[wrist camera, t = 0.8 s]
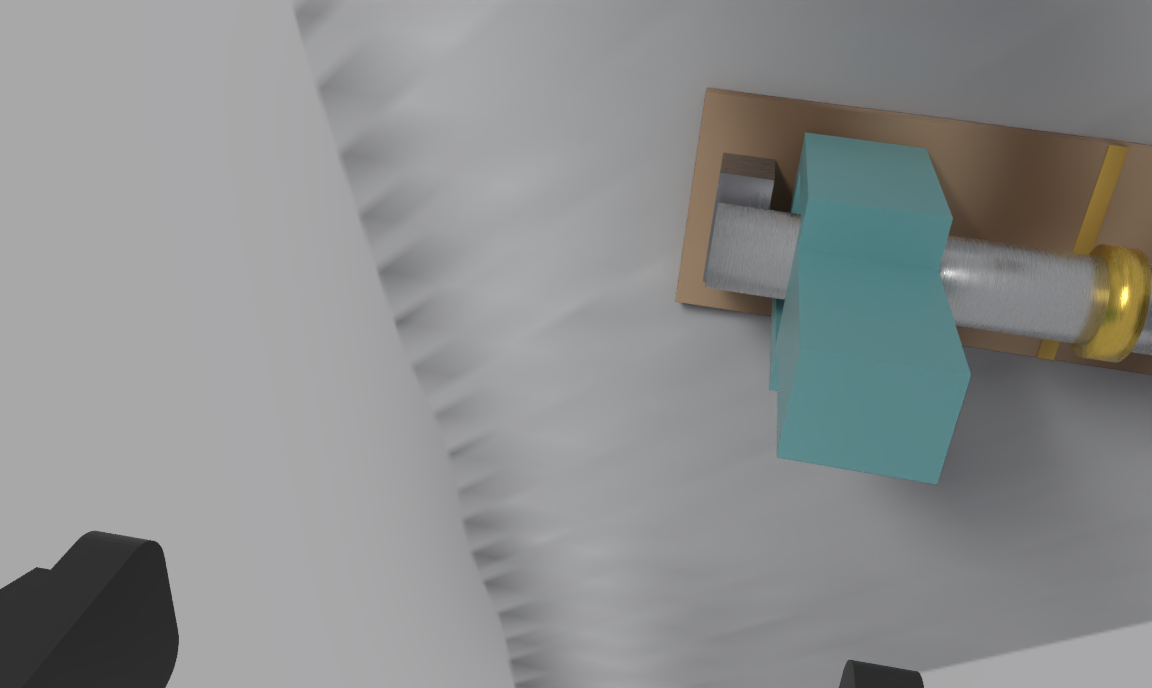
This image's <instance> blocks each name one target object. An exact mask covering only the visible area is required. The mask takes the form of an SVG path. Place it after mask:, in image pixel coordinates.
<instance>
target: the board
mask: <svg viewBox="0 0 1152 688" xmlns="http://www.w3.org/2000/svg"><path fill="white" fill-rule="evenodd" d="M805 132H807V133H814V134H822V135H829V136H837V137H844V138H852V139H859V140H867V141H874V142H882V143H889V144H897V145H904V146H912V147H919V148H926V149H927V152H928V154H929V157H930V159H931V162H932V165H933V167H934V170H935V173H936V175H937V178H938V180H939V183H940V186H941V188H942V191H943V194H944V196H945V199H946V201H947V204H948V207H949V209H950V212H951V214H952V217H953V220H952V224H951V227H950V231H949V234H948V235H950V236H957V237H965V238H972V239H979V240H986V241H993V242H1000V243H1007V244H1014V245H1021V246H1028V247H1035V248H1042V249H1049V250H1056V251H1063V252H1070V253H1077V254H1084V255H1089V254H1090V252H1091V251H1092V250H1093V249H1094V248H1095V247H1096V246H1098V245H1100V244H1106V245H1113V246H1120V247H1127V248H1134V249H1140V250H1141V251H1143V252H1144V254H1145V255H1146V257H1147V259H1148V262H1149V264H1152V145H1144V144H1136V143H1129V142H1121V141H1113V140H1106V139H1098V138H1090V137H1082V136H1075V135H1067V134H1059V133H1052V132H1044V131H1036V130H1028V129H1021V128H1013V127H1005V126H998V125H990V124H982V123H974V122H967V121H959V120H951V119H944V118H936V117H928V116H921V115H913V114H905V113H897V112H890V111H882V110H874V109H867V108H859V107H851V106H843V105H836V104H828V103H820V102H813V101H805V100H797V99H789V98H782V97H774V96H766V95H759V94H751V93H743V92H735V91H728V90H720V89H712V88H707V90H706V95H705V101H704V108H703V115H702V122H701V129H700V136H699V143H698V150H697V157H696V163H695V170H694V177H693V184H692V191H691V198H690V205H689V212H688V218H687V225H686V232H685V239H684V246H683V253H682V260H681V267H680V273H679V280H678V287H677V294H676V301H675V302H681V303H687V304H694V305H700V306H707V307H713V308H720V309H726V310H733V311H739V312H746V313H752V314H759V315H765V316H772V299H773V298H771V297H764V296H758V295H751V294H745V293H738V292H731V291H725V290H718V289H712V288H705V282H703V276H704V270H705V263H706V257H707V251H708V244H709V238H710V232H711V225H712V219H713V213H714V206H715V200H716V194H717V187H718V181H719V175H720V169H721V163H722V157H723V152H724V153H732V154H739V155H746V156H754V157H761V158H768V159H775V180H774V186H773V191H772V196H771V202H770V207H769V210H775V211H782V212H790V207H791V202H792V197H793V192H794V186H795V181H796V176H797V171H798V166H799V161H800V156H801V151H802V146H803V141H804V135H805ZM956 328H957V331H958V334H959V338H960V341H961V344H962V346H967V347H973V348H980V349H986V350H993V351H999V352H1006V353H1012V354H1019V355H1025V356H1032V357H1036V358H1042V359H1048V360H1058V361H1064V362H1071V363H1077V364H1084V365H1090V366H1097V367H1103V368H1110V369H1116V370H1123V371H1129V372H1136V373H1142V374H1149V375H1152V355H1147V354H1140V353H1133V352H1130V354H1129V355H1128V356H1127V357H1126V358H1125V359H1123V360H1122V361H1120V362H1116V363H1115V362H1108V361H1102V360H1095V359H1089V358H1082V357H1079V356H1077V355H1076V354H1075V353H1074V351H1073V349H1072V346H1071V343H1068V342H1061V341H1054V340H1048V339H1041V338H1035V337H1028V336H1021V335H1015V334H1008V333H1002V332H995V331H988V330H982V329H975V328H969V327H962V326H956Z"/></svg>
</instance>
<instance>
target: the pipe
mask: <svg viewBox="0 0 1152 688" xmlns="http://www.w3.org/2000/svg"><path fill="white" fill-rule="evenodd" d="M774 180H775V159H768V158H761V157H754V156H746V155H739V154H732V153H724V152H723V157H722V163H721V169H720V175H719V181H718V187H717V194H716V200H715V206H714V213H713V219H712V225H711V232H710V238H709V244H708V251H707V257H706V263H705V270H704V276H703V282H705V288H712V289H718V290H725V291H731V292H738V293H745V294H751V295H758V296H764V297H771V298H778V299H784V300H785V297H786V292H787V287H788V282H789V277H790V272H791V267H792V262H793V257H794V253H795V248H796V243H797V238H798V233H799V228H800V223H801V214H796V213H789V212H782V211H775V210H769V207H770V202H771V196H772V191H773V186H774ZM939 273H940V277H941V280H942V283H943V286H944V290H945V293H946V296H947V299H948V302H949V306H950V309H951V312H952V315H953V318H954V322H955V325H956V326H962V327H969V328H975V329H982V330H988V331H995V332H1002V333H1008V334H1015V335H1021V336H1028V337H1035V338H1041V339H1048V340H1054V341H1061V342H1068V343H1071V346H1072V349H1073V351H1074V353H1075V354H1076V355H1077V356H1079V357H1082V358H1089V359H1095V360H1102V361H1108V362H1115V363H1116V362H1120V361H1122V360H1123V359H1125V358H1126V357H1127V356H1128V355H1129V354H1130V352H1133V353H1140V354H1147V355H1152V264H1149V262H1148V259H1147V257H1146V255H1145V254H1144V252H1143V251H1141V250H1140V249H1134V248H1127V247H1120V246H1113V245H1106V244H1100V245H1098V246H1096V247H1095V248H1094V249H1093V250H1092V251H1091V252H1090V254H1089V255H1084V254H1077V253H1070V252H1063V251H1056V250H1049V249H1042V248H1035V247H1028V246H1021V245H1014V244H1007V243H1000V242H993V241H986V240H979V239H972V238H965V237H957V236H950V235H948V238H947V241H946V245H945V249H944V252H943V256H942V259H941V263H940V267H939Z"/></svg>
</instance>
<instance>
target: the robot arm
mask: <svg viewBox="0 0 1152 688" xmlns="http://www.w3.org/2000/svg"><path fill="white" fill-rule="evenodd" d="M178 644H179V635H178V628H177V623H176V617H175V612H174V606H173V601H172V595H171V590H170V584H169V579H168V573H167V568H166V562H165V557H164V553H163V550H162V548H161V546H160V545H159V544H158V543H157V542H155V541H151V540H145V539H139V538H133V537H128V536H122V535H116V534H111V533H105V532H99V531H91V532H88V533H86V534H85V535H83V536H82V537H81V538H80V539H79V540H78V541H77V542H76V543H75V544H74V545H73V546H72V547H71V548H70V549H69V550H68V551H67V553H66V554H65V555H64V556H63V557H62V558H61V559H60V560H59V561H58V563H57V564H56V565H55V566H54V567H53V568H52V569H51V570H49V569H43V568H38V567H36V568H35V569H33V570H31V571H30V572H28V573H26V574H25V575H23V576H21V577H20V578H18V579H17V580H15V581H13V582H12V583H10V584H8V585H7V586H5V587H3V588H2V589H0V688H165V687H166V685H167V683H168V681H169V679H170V676H171V674H172V672H173V669H174V666H175V662H176V658H177V652H178ZM839 688H924V685H923V681H922V677H921V675H920V673H919V672H917V671H911V670H905V669H900V668H894V667H888V666H882V665H877V664H871V663H865V662H859V661H854V660H848V661H847V663H846V665H845V668H844V671H843V674H842V678H841V682H840V686H839Z"/></svg>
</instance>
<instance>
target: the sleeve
mask: <svg viewBox="0 0 1152 688" xmlns="http://www.w3.org/2000/svg"><path fill="white" fill-rule="evenodd" d="M789 213H796V214H801V223H800V228H799V233H798V238H797V243H796V248H795V253H794V257H793V262H792V267H791V272H790V277H789V282H788V287H787V292H786V297H785V300H784V299H778V298H773V299H772V317H771V352H770V387H769V390H774V391H778V413H777V458H783V459H789V460H795V461H800V462H806V463H812V464H818V465H824V466H830V467H836V468H842V469H848V470H854V471H860V472H865V473H871V474H877V475H883V476H889V477H895V478H901V479H907V480H913V481H919V482H925V483H931V484H936V485H937V483H938V480H939V477H940V474H941V470H942V467H943V464H944V461H945V458H946V454H947V451H948V448H949V445H950V442H951V438H952V435H953V432H954V429H955V426H956V422H957V419H958V416H959V413H960V410H961V406H962V403H963V400H964V397H965V394H966V390H967V387H968V384H969V381H970V378H971V373H970V370H969V367H968V363H967V360H966V357H965V354H964V350H963V347H962V344H961V341H960V338H959V334H958V331H957V328H956V325H955V322H954V318H953V315H952V312H951V309H950V306H949V302H948V299H947V296H946V293H945V290H944V286H943V283H942V280H941V277H940V273H939V267H940V263H941V259H942V256H943V252H944V249H945V245H946V241H947V238H948V234H949V231H950V227H951V224H952V220H953V217H952V214H951V212H950V209H949V207H948V204H947V201H946V199H945V196H944V194H943V191H942V188H941V186H940V183H939V180H938V178H937V175H936V173H935V170H934V167H933V165H932V162H931V159H930V157H929V154H928V152H927V149H926V148H919V147H912V146H904V145H897V144H889V143H882V142H874V141H867V140H859V139H852V138H844V137H837V136H829V135H822V134H814V133H807V132H805V135H804V141H803V146H802V151H801V156H800V161H799V166H798V171H797V176H796V181H795V186H794V192H793V197H792V202H791V207H790V212H789Z"/></svg>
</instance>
